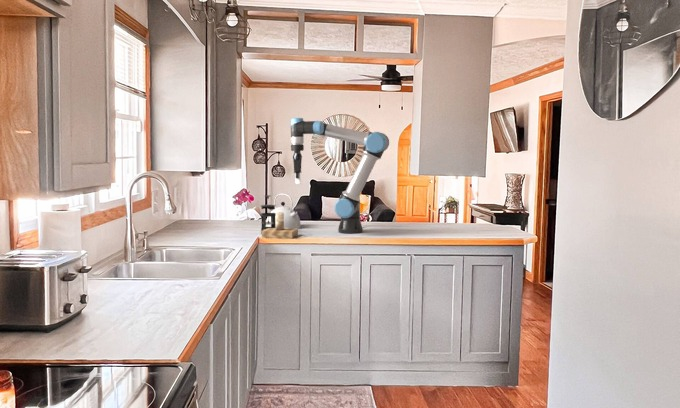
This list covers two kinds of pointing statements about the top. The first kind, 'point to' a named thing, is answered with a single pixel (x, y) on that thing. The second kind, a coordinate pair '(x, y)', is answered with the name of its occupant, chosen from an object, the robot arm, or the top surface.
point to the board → (280, 233)
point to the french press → (264, 215)
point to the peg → (280, 221)
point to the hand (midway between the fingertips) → (297, 183)
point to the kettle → (286, 215)
